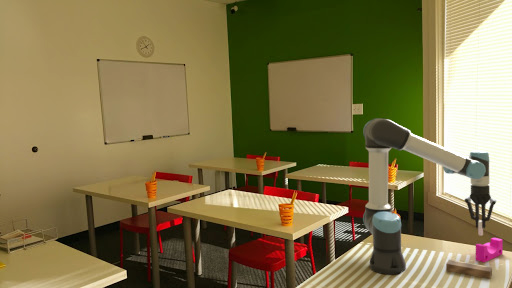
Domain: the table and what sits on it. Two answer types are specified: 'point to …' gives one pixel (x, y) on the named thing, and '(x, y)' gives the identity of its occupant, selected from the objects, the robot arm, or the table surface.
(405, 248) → the table surface
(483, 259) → the toy block
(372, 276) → the table surface
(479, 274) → the walnut plank
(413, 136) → the robot arm
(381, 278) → the table surface
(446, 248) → the table surface
